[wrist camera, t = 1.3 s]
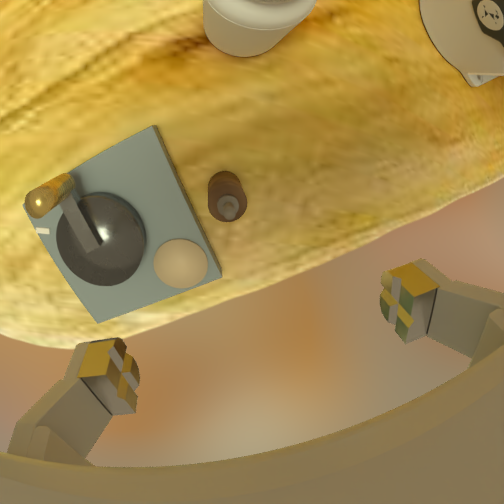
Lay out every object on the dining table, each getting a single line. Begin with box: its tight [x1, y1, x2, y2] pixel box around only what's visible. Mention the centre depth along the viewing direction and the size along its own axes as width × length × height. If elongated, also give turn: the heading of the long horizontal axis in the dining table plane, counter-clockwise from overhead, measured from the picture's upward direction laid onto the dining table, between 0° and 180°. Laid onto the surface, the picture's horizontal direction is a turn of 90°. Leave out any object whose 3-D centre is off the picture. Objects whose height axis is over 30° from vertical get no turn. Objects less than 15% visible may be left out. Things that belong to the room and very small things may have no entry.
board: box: [23, 125, 222, 324], centre depth 30 cm, size 18×18×2 cm
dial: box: [25, 173, 146, 286], centre depth 25 cm, size 10×13×8 cm
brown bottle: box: [208, 171, 247, 222], centre depth 27 cm, size 3×3×9 cm
